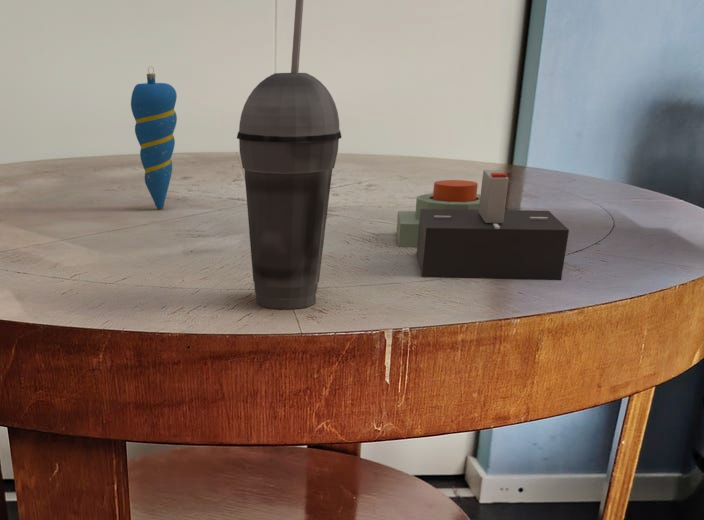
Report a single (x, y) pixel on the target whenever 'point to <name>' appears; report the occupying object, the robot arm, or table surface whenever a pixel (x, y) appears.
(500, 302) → the table surface
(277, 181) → the beverage cup
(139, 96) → the ornament
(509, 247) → the block
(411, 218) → the housing
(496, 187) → the knob
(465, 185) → the button
